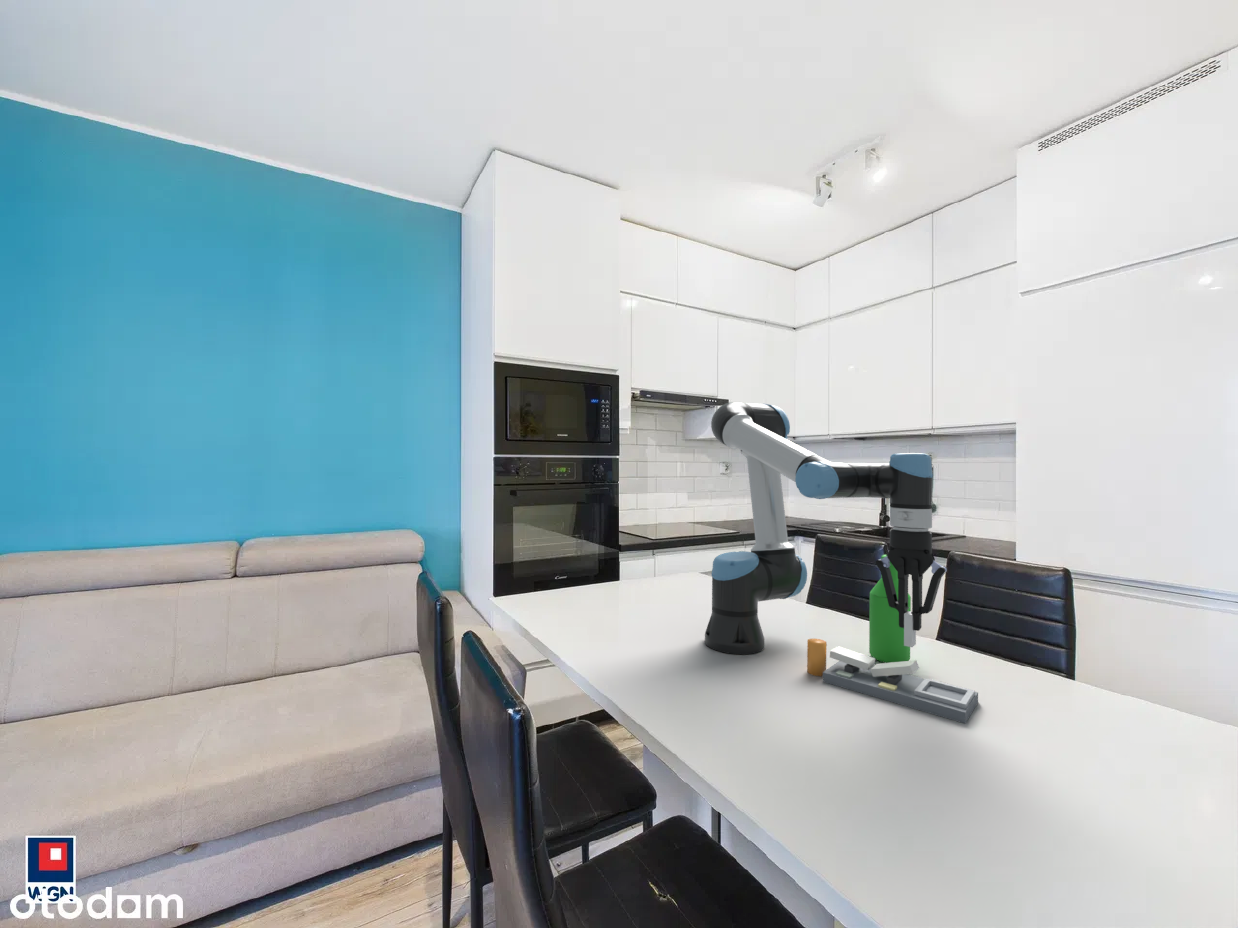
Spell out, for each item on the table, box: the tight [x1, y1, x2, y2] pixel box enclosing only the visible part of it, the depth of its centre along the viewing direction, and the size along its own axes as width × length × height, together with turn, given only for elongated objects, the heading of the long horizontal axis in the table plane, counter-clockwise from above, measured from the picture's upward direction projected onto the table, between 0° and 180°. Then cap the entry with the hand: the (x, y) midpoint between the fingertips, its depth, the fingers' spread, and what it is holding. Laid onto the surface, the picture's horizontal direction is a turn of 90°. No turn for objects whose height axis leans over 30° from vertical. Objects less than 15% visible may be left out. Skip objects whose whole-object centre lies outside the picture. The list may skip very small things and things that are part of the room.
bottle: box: [868, 554, 912, 663], centre depth 126 cm, size 9×9×25 cm
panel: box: [822, 660, 979, 724], centre depth 108 cm, size 26×12×3 cm, turn 46°
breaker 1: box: [829, 645, 876, 671], centre depth 114 cm, size 8×4×2 cm, turn 46°
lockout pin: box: [806, 638, 827, 677], centre depth 117 cm, size 4×4×7 cm
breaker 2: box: [870, 659, 920, 677], centre depth 108 cm, size 8×4×2 cm, turn 47°
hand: (909, 644), depth 106 cm, fingers closed
